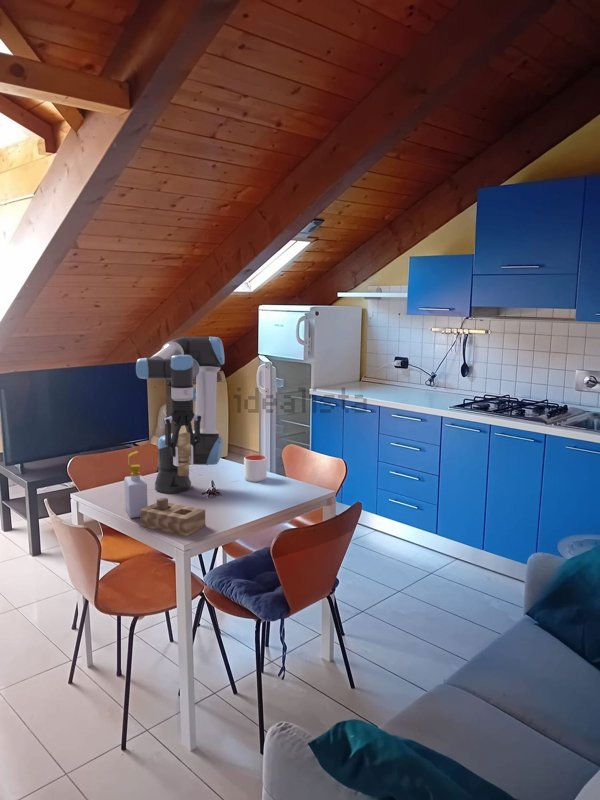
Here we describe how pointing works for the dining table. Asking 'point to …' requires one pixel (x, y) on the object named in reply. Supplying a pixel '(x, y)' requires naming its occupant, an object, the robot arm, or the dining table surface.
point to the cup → (255, 468)
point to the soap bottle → (135, 491)
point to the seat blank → (172, 517)
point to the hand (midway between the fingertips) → (183, 464)
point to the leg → (183, 453)
